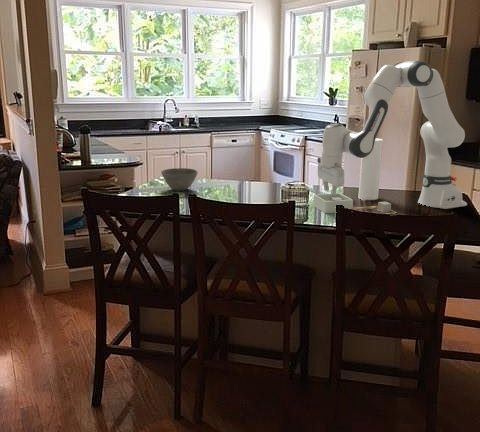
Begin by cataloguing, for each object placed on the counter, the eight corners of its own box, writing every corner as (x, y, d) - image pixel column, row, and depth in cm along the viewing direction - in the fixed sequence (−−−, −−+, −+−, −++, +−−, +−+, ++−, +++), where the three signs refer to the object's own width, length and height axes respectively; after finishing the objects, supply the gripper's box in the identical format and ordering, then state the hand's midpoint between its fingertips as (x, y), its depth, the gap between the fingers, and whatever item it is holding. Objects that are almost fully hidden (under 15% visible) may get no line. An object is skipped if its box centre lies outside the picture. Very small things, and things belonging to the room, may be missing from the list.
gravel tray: (382, 209, 237) (382, 205, 237) (396, 216, 226) (397, 212, 226) (350, 211, 233) (351, 207, 233) (363, 219, 222) (364, 215, 222)
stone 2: (384, 210, 233) (385, 201, 232) (390, 212, 230) (391, 203, 229) (377, 210, 232) (378, 202, 231) (382, 213, 228) (383, 204, 227)
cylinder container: (363, 195, 262) (368, 136, 254) (381, 198, 256) (386, 138, 248) (354, 199, 255) (359, 138, 247) (372, 202, 249) (377, 140, 241)
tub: (339, 205, 243) (339, 193, 242) (352, 213, 231) (353, 199, 229) (313, 207, 240) (313, 194, 238) (325, 214, 228) (325, 201, 226)
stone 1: (338, 205, 241) (339, 197, 240) (341, 207, 237) (342, 199, 236) (330, 205, 240) (331, 197, 239) (333, 208, 236) (334, 199, 235)
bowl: (196, 194, 261) (196, 175, 258) (159, 194, 261) (158, 174, 259) (199, 186, 279) (199, 168, 276) (165, 185, 279) (164, 167, 277)
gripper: (349, 165, 217) (346, 197, 221) (328, 157, 236) (326, 186, 240) (335, 166, 216) (333, 198, 219) (315, 157, 235) (314, 187, 238)
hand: (329, 192), depth 230 cm, fingers open, 6 cm apart
